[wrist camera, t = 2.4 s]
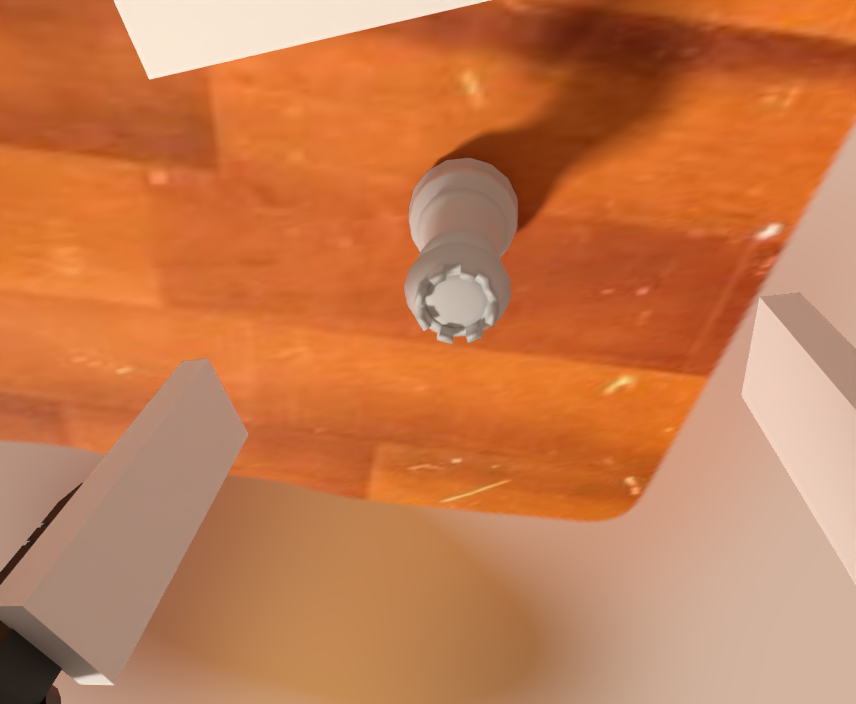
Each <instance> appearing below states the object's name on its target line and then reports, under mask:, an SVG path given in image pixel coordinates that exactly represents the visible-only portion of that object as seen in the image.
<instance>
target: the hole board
mask: <svg viewBox="0 0 856 704" xmlns="http://www.w3.org/2000/svg"><path fill="white" fill-rule="evenodd" d="M485 1H489V0H114V2H115V5H116V7H117V9H118V11H119V13H120V16H121V18H122V20H123V22H124V24H125V27H126V29H127V31H128V33H129V36H130V38H131V40H132V42H133V44H134V47H135V49H136V51H137V53H138V55H139V58H140V60H141V62H142V64H143V67H144V69H145V71H146V73H147V75H148V78H149V79H154V78H158V77H162V76H167V75H171V74H175V73H180V72H184V71H188V70H192V69H197V68H201V67H205V66H210V65H214V64H218V63H223V62H227V61H231V60H235V59H240V58H244V57H248V56H253V55H257V54H261V53H266V52H270V51H274V50H278V49H283V48H287V47H291V46H296V45H300V44H304V43H309V42H313V41H317V40H321V39H326V38H330V37H334V36H339V35H343V34H347V33H352V32H356V31H360V30H365V29H369V28H373V27H377V26H382V25H386V24H390V23H395V22H399V21H403V20H408V19H412V18H416V17H420V16H425V15H429V14H433V13H438V12H442V11H446V10H451V9H455V8H459V7H463V6H468V5H472V4H476V3H481V2H485Z"/></svg>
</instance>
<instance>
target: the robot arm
mask: <svg viewBox="0 0 856 704" xmlns="http://www.w3.org/2000/svg"><path fill="white" fill-rule="evenodd" d="M742 397H743V399H744V401H745V402H746V404H747V406H748V407H749V409H750V411H751V412H752V414H753V416H754V417H755V419H756V421H757V422H758V424H759V426H760V427H761V429H762V431H763V432H764V434H765V436H766V437H767V439H768V440H769V442H770V443H771V445H772V447H773V449H774V450H775V452H776V454H777V455H778V457H779V459H780V460H781V462H782V464H783V465H784V467H785V469H786V470H787V472H788V474H789V475H790V477H791V478H792V480H793V482H794V484H795V485H796V487H797V488H798V490H799V492H800V493H801V495H802V497H803V498H804V500H805V502H806V503H807V505H808V507H809V508H810V510H811V512H812V513H813V515H814V517H815V518H816V520H817V522H818V523H819V525H820V527H821V528H822V530H823V532H824V533H825V535H826V536H827V538H828V540H829V541H830V543H831V545H832V546H833V548H834V550H835V551H836V553H837V554H838V556H839V558H840V560H841V561H842V563H843V565H844V566H845V568H846V570H847V571H848V573H849V575H850V576H851V578H852V580H853V581H854V583H855V585H856V349H855V348H854V347H853V346H852V345H851V344H850V343H849V342H848V341H847V340H846V339H845V338H844V337H843V336H842V335H841V334H840V333H839V332H838V331H837V330H836V329H835V328H834V327H833V326H832V324H830V323H829V321H828V320H827V319H825V317H824V316H823V315H822V314H821V313H820V312H819V311H818V310H817V309H816V308H815V307H814V306H812V305H811V303H810V302H809V301H808V300H807V299H806V298H805V297H804V296H802V294H801V293H790V294H781V295H773V296H763V297H760V298H759V303H758V309H757V314H756V321H755V325H754V330H753V336H752V341H751V347H750V352H749V358H748V363H747V369H746V374H745V380H744V385H743V390H742ZM248 435H249V434H248V432H247V431H246V429H245V427H244V425H243V423H242V421H241V419H240V418H239V416H238V414H237V412H236V410H235V408H234V406H233V404H232V403H231V401H230V399H229V397H228V395H227V393H226V391H225V389H224V388H223V386H222V384H221V382H220V380H219V378H218V376H217V374H216V373H215V371H214V369H213V367H212V365H211V363H210V361H209V359H199V360H190V361H182V362H181V363H180V364H179V366H178V367H177V368H176V369H175V371H174V372H173V373H172V374H171V376H170V377H169V378H168V379H167V380H166V382H165V383H164V384H163V385H162V387H161V388H160V389H159V390H158V392H157V393H156V394H155V395H154V396H153V398H152V399H151V400H150V401H149V403H148V404H147V405H146V406H145V408H144V409H143V410H142V411H141V413H140V414H139V415H138V416H137V417H136V419H135V420H134V421H133V422H132V424H131V425H130V426H129V427H128V429H127V430H126V431H125V432H124V433H123V435H122V436H121V437H120V438H119V440H118V441H117V442H116V443H115V445H114V446H113V447H112V448H111V449H110V451H109V452H108V453H107V454H106V456H105V457H104V458H103V459H102V461H101V462H100V463H99V464H98V465H97V467H96V468H95V469H94V470H93V472H92V473H91V474H90V475H89V477H88V478H87V479H86V480H85V482H84V483H81V484H80V485H79V486H78V487H76V488H75V489H74V490H73V491H72V492H70V493H69V494H68V495H67V496H66V497H64V498H63V499H62V500H61V501H59V502H58V503H57V505H56V506H55V507H54V508H53V510H52V511H51V512H50V513H49V514H48V516H47V517H46V518H45V519H44V521H43V522H42V523H41V525H42V526H41V527H40V528H37V529H36V530H35V531H34V532H33V534H32V535H31V536H30V537H29V538H28V540H27V544H26V545H25V546H22V547H21V548H20V549H19V551H18V552H17V553H16V554H15V555H14V557H13V558H12V559H11V560H10V561H9V563H8V564H7V565H6V567H5V568H4V569H3V570H2V571H1V572H0V704H61V697H60V694H59V691H58V689H57V688H56V687H55V686H53V685H52V684H53V683H54V681H55V679H56V678H57V676H58V674H59V673H60V671H61V670H63V671H64V672H65V673H67V674H68V675H69V676H70V677H72V678H73V679H74V680H75V681H77V682H78V683H79V684H86V685H88V684H89V685H115V684H116V682H117V680H118V678H119V676H120V674H121V672H122V671H123V669H124V667H125V665H126V663H127V661H128V659H129V658H130V656H131V654H132V652H133V650H134V648H135V646H136V644H137V643H138V641H139V639H140V637H141V635H142V633H143V631H144V630H145V628H146V626H147V624H148V622H149V620H150V618H151V616H152V615H153V613H154V611H155V609H156V607H157V605H158V603H159V601H160V600H161V598H162V595H163V594H164V592H165V590H166V588H167V586H168V584H169V583H170V581H171V579H172V577H173V575H174V573H175V571H176V569H177V568H178V566H179V564H180V562H181V560H182V558H183V556H184V554H185V553H186V551H187V549H188V547H189V545H190V543H191V541H192V540H193V538H194V536H195V534H196V532H197V530H198V528H199V527H200V524H201V523H202V521H203V519H204V517H205V515H206V513H207V512H208V510H209V508H210V506H211V504H212V502H213V500H214V498H215V496H216V495H217V493H218V491H219V489H220V487H221V485H222V483H223V482H224V480H225V478H226V476H227V474H228V472H229V470H230V468H231V467H232V465H233V463H234V461H235V459H236V457H237V455H238V453H239V452H240V450H241V448H242V446H243V444H244V442H245V440H246V438H247V437H248Z"/></svg>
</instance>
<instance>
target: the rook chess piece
mask: <svg viewBox="0 0 856 704" xmlns="http://www.w3.org/2000/svg"><path fill="white" fill-rule="evenodd" d="M409 211H410V212H409V216H408V218H409V224H410V231H411V237H412V239H413V241H414V242H415V244H416V246H417V247H418V249H419V251H420V255H419V258H418V259H417V261H416V262H415V263H414V264H413V265H412V266H411V268H410V269H409V272H408V275H407V279H406V283H405V286H404V289H405V294H406V300H407V305H408V307H409V308H410V310H411V311H412V313H413V314H414V316H415V317H416V320H417V322H418V323H419V325H420V326H421V328H422V329H423V331H425V330H426V329H428V328H429V329H431V330H432V331H434V332H437V340H439V341H443V342H446V343H450V344H452V341H453V337H454V336H466V338H467V341H468V343H470V342H472V341H475V340H477V339H480V338H482V337H483V331H484V330H486V329H489V328H491V327H492V326H493V327H494V325H495V323H496V322H497V321H498V320H499V319H500V318H501V317H502V316H503V315H504V313H505V311H506V309H507V306H508V304H509V301H510V299H511V285H510V278H509V276H508V274H507V272H506V270H505V268H504V266H503V264H502V263H501V256H502V255H503V254H504V253H505V252H506V251H507V250H508V249H509V247H510V245H511V243H512V240H513V238H514V235H515V233H516V230H517V228H518V222H517V221H518V198H517V196H516V194H515V192H514V190H513V187H512V185H511V183H510V181H509V179H508V178H507V177H506V176H505V175H504V174H502V173H501V172H500V171H499V170H498V169H496V168H495V167H494V166H493V165H492V164H489V163H486V162H483V161H479V160H476V159H473V158H461V159H452V160H446V161H444V162H443V163H441V164H439V165H437V166H435V167H434V168H432V169H430V170H428V171H427V172H426V174H425V175H424V176H423V177H422V179H421V180H420V181H419V183H418V184H417V185H416V187H415V188H414V191H413V195H412V199H411V203H410V207H409Z"/></svg>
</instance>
